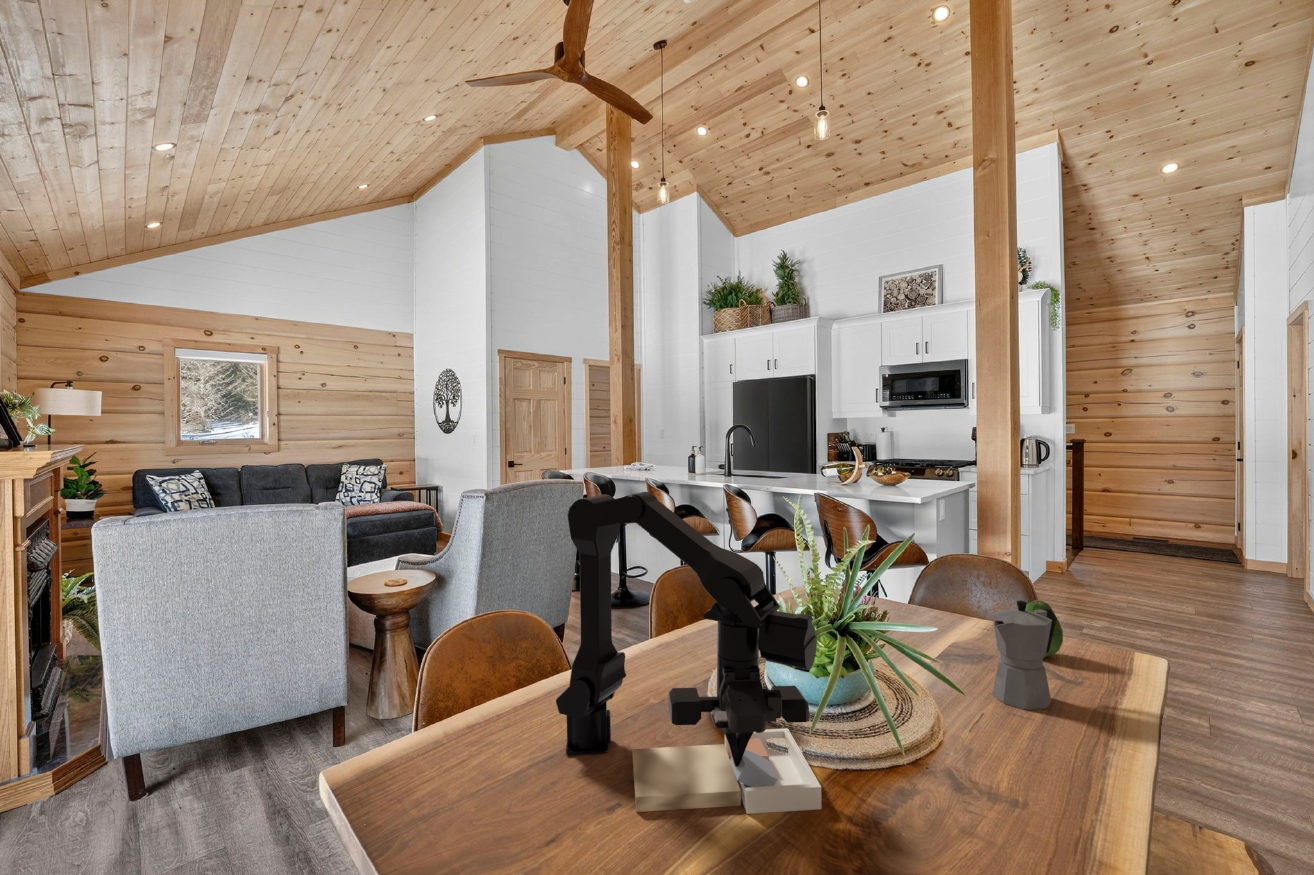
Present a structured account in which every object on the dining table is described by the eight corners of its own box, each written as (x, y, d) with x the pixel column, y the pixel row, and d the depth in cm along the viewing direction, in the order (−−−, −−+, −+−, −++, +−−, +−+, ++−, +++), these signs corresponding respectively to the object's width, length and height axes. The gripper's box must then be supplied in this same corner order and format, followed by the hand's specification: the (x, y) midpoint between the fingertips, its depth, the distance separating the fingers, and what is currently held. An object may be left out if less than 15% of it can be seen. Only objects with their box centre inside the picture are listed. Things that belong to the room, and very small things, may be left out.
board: (635, 812, 82) (635, 797, 82) (632, 762, 94) (632, 749, 94) (740, 805, 83) (740, 790, 83) (724, 756, 95) (724, 744, 95)
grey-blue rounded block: (737, 780, 85) (745, 764, 85) (729, 760, 90) (737, 745, 90) (769, 795, 85) (777, 779, 85) (760, 774, 90) (767, 759, 90)
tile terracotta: (735, 774, 90) (735, 758, 90) (727, 756, 95) (727, 740, 95) (769, 771, 91) (768, 755, 90) (759, 753, 96) (759, 738, 95)
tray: (746, 813, 82) (746, 791, 82) (724, 750, 97) (724, 731, 97) (821, 809, 82) (821, 786, 82) (787, 747, 98) (787, 728, 98)
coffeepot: (1020, 717, 106) (1020, 613, 106) (972, 695, 115) (972, 598, 114) (1079, 700, 112) (1080, 601, 112) (1030, 680, 121) (1030, 588, 120)
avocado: (1011, 653, 135) (1011, 598, 134) (1034, 647, 138) (1035, 593, 138) (1047, 666, 128) (1048, 608, 127) (1071, 659, 131) (1072, 602, 131)
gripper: (676, 679, 78) (675, 802, 78) (823, 676, 79) (821, 798, 79) (668, 646, 89) (667, 755, 89) (797, 644, 90) (795, 751, 91)
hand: (736, 765), depth 87 cm, fingers closed, pressing on grey-blue rounded block
